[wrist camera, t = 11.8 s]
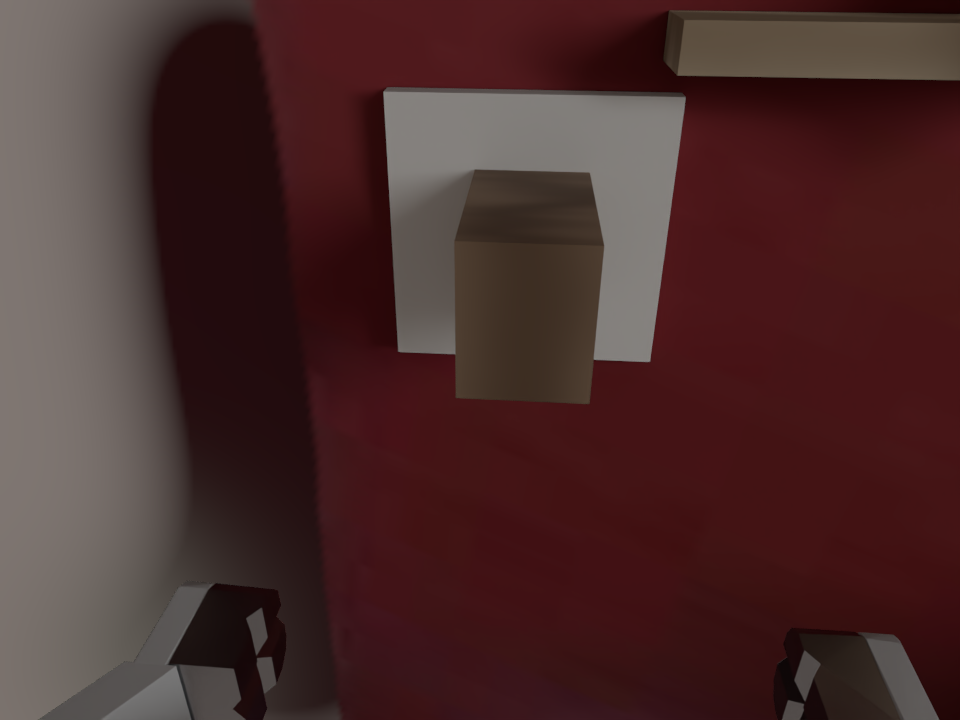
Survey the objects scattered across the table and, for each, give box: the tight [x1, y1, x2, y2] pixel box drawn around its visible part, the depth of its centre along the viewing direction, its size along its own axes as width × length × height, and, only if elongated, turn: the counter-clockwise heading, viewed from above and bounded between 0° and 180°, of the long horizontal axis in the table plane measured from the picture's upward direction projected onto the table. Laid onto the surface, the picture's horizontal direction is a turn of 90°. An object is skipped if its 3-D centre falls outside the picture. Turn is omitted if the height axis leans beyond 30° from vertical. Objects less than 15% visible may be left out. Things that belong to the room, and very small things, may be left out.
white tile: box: [383, 87, 686, 362], centre depth 28 cm, size 10×10×1 cm
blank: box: [454, 169, 604, 404], centre depth 24 cm, size 4×5×7 cm
